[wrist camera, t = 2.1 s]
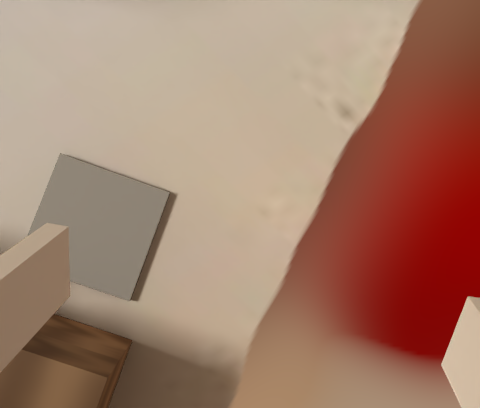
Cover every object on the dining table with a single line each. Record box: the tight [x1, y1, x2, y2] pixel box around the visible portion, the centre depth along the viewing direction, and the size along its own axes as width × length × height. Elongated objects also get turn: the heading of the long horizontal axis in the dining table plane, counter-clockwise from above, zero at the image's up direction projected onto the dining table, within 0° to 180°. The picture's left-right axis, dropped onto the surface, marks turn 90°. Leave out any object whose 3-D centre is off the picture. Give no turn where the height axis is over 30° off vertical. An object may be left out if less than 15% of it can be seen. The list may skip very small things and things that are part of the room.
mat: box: [28, 153, 170, 301], centre depth 40 cm, size 11×11×1 cm
